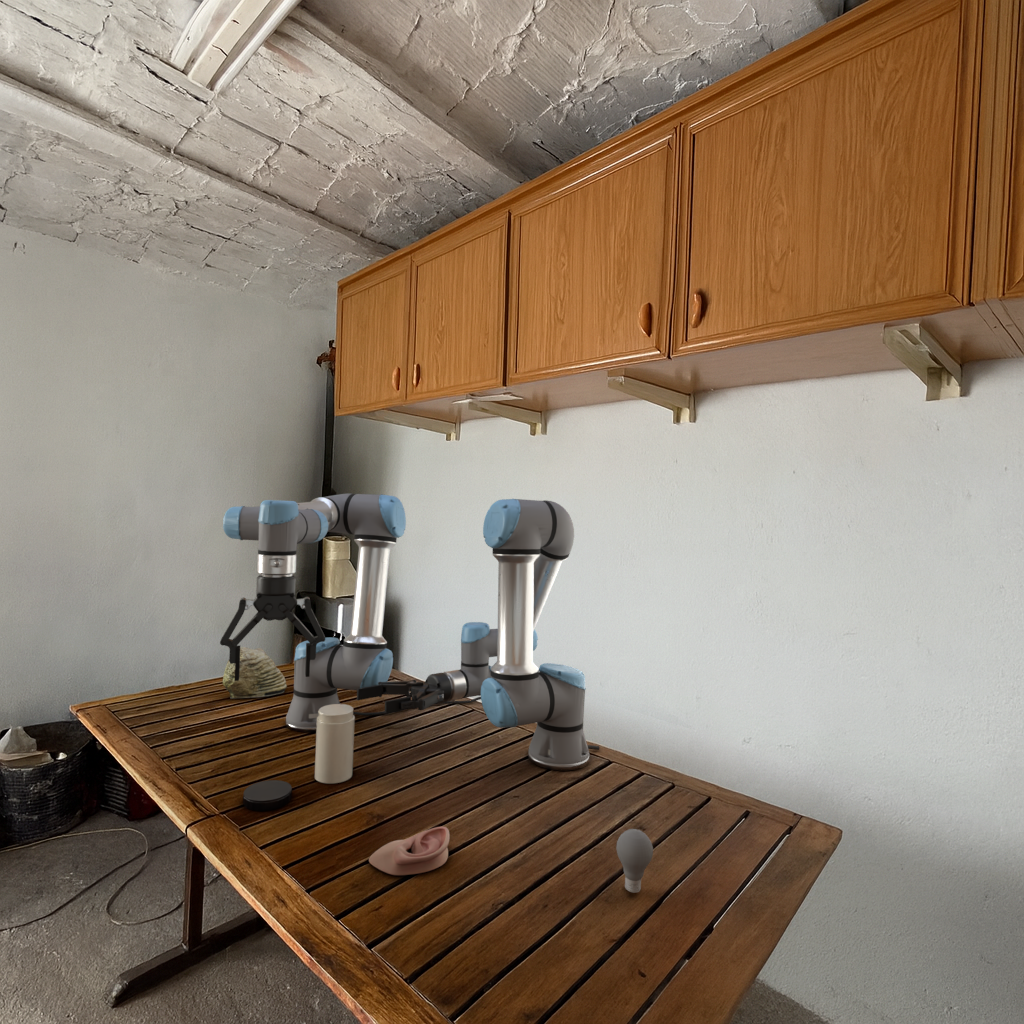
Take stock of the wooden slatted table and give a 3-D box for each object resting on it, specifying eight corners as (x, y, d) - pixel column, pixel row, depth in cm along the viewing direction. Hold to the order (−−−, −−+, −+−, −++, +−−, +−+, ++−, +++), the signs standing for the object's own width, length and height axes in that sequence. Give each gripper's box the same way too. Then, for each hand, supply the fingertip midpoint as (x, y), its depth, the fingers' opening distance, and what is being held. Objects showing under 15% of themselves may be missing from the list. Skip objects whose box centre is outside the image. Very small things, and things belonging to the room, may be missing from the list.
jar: (319, 767, 148) (321, 703, 148) (355, 767, 149) (358, 703, 148) (310, 783, 140) (312, 715, 139) (348, 784, 140) (351, 716, 140)
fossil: (218, 695, 195) (220, 647, 195) (278, 685, 208) (279, 640, 207) (228, 703, 189) (230, 653, 188) (289, 692, 201) (290, 645, 201)
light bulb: (610, 879, 108) (613, 822, 108) (644, 879, 109) (647, 822, 109) (619, 902, 102) (622, 840, 102) (655, 901, 103) (658, 840, 103)
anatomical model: (361, 846, 108) (388, 814, 119) (360, 870, 108) (387, 835, 119) (436, 859, 105) (456, 825, 117) (435, 882, 105) (455, 846, 117)
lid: (253, 816, 125) (253, 805, 125) (235, 798, 132) (236, 788, 132) (299, 802, 131) (299, 792, 131) (280, 785, 138) (280, 776, 138)
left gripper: (208, 577, 123) (204, 686, 123) (340, 577, 132) (336, 678, 132) (211, 572, 130) (207, 675, 130) (337, 572, 139) (333, 668, 139)
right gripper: (473, 713, 155) (397, 730, 141) (418, 691, 174) (346, 704, 160) (474, 682, 155) (398, 696, 141) (418, 663, 174) (347, 674, 160)
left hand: (272, 677), depth 131 cm, fingers open, 13 cm apart
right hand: (370, 700), depth 151 cm, fingers open, 13 cm apart
